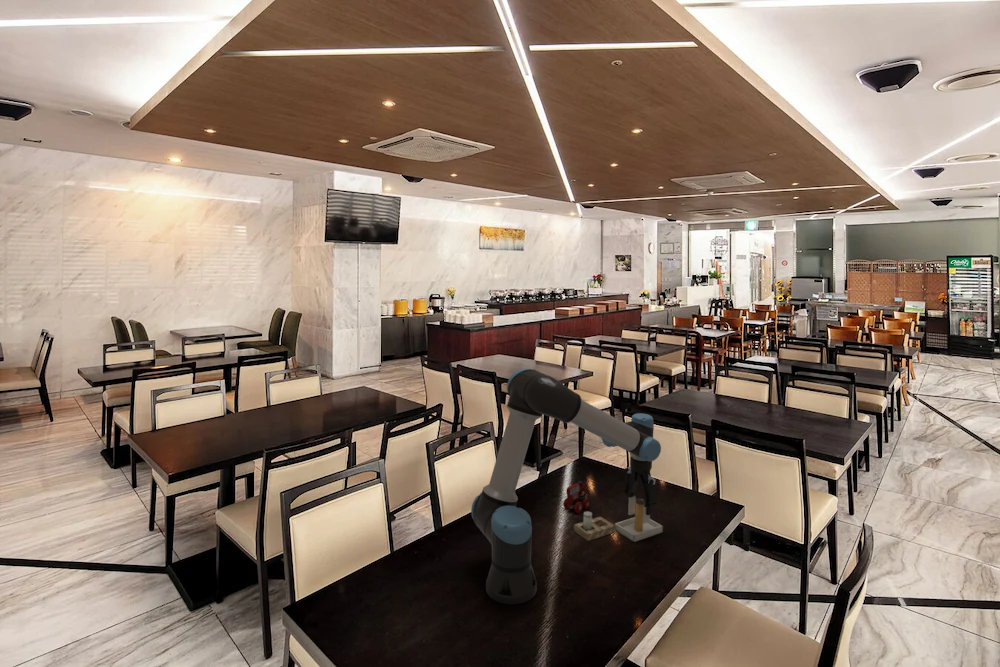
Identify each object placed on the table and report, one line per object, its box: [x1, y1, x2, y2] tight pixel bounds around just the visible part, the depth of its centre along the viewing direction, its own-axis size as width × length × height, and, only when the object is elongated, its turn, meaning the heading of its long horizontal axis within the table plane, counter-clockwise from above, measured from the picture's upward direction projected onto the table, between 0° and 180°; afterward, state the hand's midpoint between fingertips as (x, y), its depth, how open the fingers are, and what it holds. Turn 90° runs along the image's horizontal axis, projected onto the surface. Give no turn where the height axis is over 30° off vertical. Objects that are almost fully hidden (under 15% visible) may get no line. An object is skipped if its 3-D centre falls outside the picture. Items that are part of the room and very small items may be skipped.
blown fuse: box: [634, 498, 645, 531], centre depth 188 cm, size 3×3×11 cm
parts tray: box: [614, 516, 664, 543], centre depth 188 cm, size 14×10×2 cm
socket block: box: [573, 516, 616, 542], centre depth 188 cm, size 12×8×2 cm, turn 120°
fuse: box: [583, 511, 593, 531], centre depth 186 cm, size 3×3×8 cm
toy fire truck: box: [563, 480, 591, 514], centre depth 206 cm, size 7×12×10 cm, turn 135°
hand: (638, 518), depth 188 cm, fingers open, 7 cm apart
